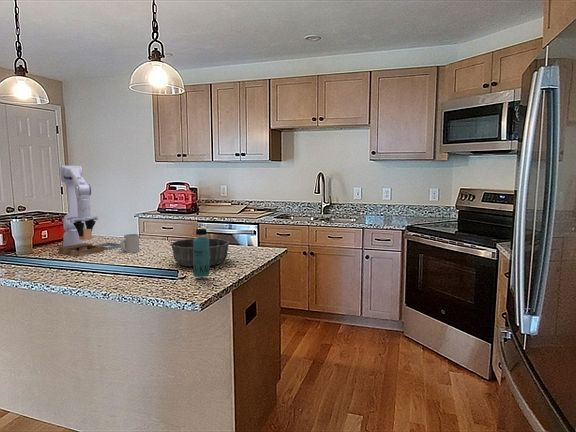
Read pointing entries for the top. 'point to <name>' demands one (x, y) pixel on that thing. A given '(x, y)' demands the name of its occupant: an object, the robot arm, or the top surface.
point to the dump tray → (113, 245)
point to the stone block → (86, 234)
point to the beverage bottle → (201, 254)
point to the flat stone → (82, 248)
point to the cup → (130, 243)
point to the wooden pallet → (90, 250)
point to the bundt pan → (185, 251)
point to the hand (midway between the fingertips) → (85, 235)
